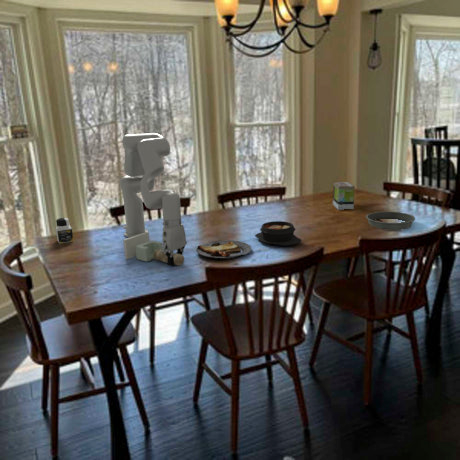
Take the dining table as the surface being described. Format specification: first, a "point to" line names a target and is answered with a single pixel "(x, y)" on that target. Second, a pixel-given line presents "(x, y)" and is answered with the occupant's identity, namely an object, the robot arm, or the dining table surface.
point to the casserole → (278, 233)
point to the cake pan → (390, 215)
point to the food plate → (223, 249)
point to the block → (147, 250)
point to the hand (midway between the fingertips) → (175, 262)
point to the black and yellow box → (64, 231)
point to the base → (134, 244)
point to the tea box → (343, 195)
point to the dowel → (162, 257)
